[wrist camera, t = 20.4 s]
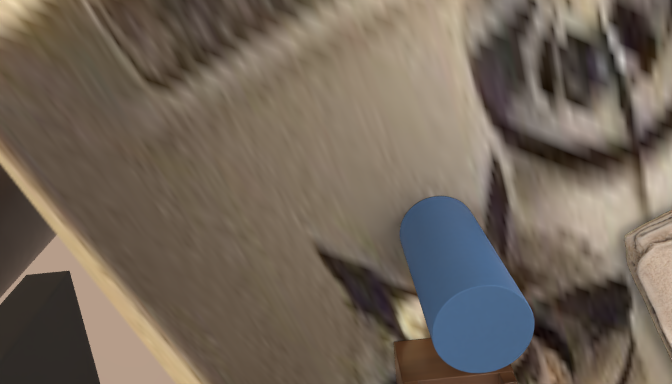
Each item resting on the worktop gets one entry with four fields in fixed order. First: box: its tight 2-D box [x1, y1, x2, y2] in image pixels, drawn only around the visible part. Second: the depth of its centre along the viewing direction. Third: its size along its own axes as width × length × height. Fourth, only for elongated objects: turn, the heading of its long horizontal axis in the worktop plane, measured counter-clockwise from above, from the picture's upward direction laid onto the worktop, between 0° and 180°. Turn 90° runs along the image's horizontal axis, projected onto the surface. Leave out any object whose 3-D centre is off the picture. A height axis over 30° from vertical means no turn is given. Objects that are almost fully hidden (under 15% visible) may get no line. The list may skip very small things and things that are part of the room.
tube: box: [400, 196, 534, 373], centre depth 40 cm, size 13×6×6 cm
